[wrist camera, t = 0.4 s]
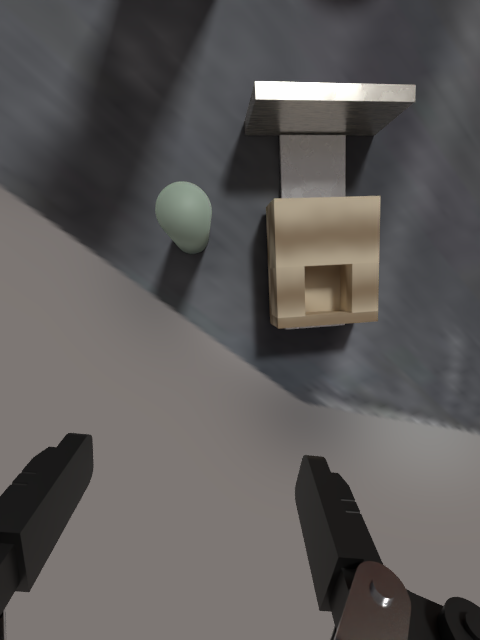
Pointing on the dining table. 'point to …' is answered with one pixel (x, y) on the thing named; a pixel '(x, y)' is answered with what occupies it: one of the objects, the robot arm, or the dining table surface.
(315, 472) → the robot arm
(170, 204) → the dowel
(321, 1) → the dining table surface
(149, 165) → the dining table surface
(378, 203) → the socket block
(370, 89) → the rail base
